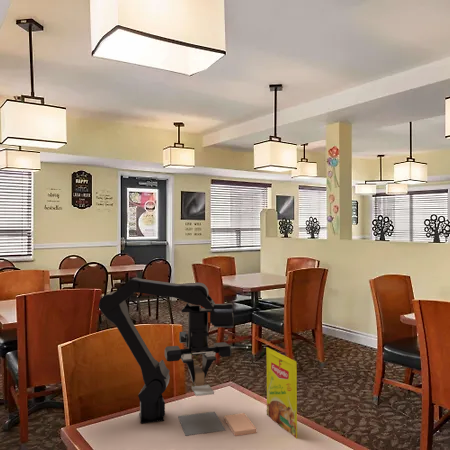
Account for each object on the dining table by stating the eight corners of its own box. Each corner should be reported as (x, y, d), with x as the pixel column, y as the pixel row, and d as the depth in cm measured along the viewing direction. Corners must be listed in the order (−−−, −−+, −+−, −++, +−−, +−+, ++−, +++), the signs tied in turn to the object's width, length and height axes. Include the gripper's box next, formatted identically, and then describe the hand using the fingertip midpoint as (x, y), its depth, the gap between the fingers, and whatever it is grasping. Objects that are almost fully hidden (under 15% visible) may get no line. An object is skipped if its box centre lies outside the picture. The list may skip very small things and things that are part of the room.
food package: (265, 415, 124) (264, 347, 125) (268, 414, 125) (268, 346, 125) (295, 439, 110) (294, 361, 111) (298, 438, 111) (298, 361, 111)
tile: (224, 421, 122) (234, 438, 112) (224, 415, 122) (234, 431, 112) (244, 418, 123) (256, 435, 114) (244, 413, 123) (256, 428, 114)
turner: (186, 379, 127) (186, 366, 127) (202, 378, 128) (202, 364, 128) (196, 396, 113) (195, 381, 114) (214, 394, 115) (214, 379, 115)
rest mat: (185, 436, 112) (185, 435, 112) (178, 417, 124) (178, 416, 124) (225, 430, 115) (225, 429, 115) (214, 412, 127) (214, 411, 127)
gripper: (221, 319, 133) (221, 369, 133) (162, 323, 128) (162, 375, 128) (232, 327, 122) (232, 381, 122) (167, 331, 117) (167, 388, 117)
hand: (198, 381), depth 123 cm, fingers closed on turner, 2 cm apart
